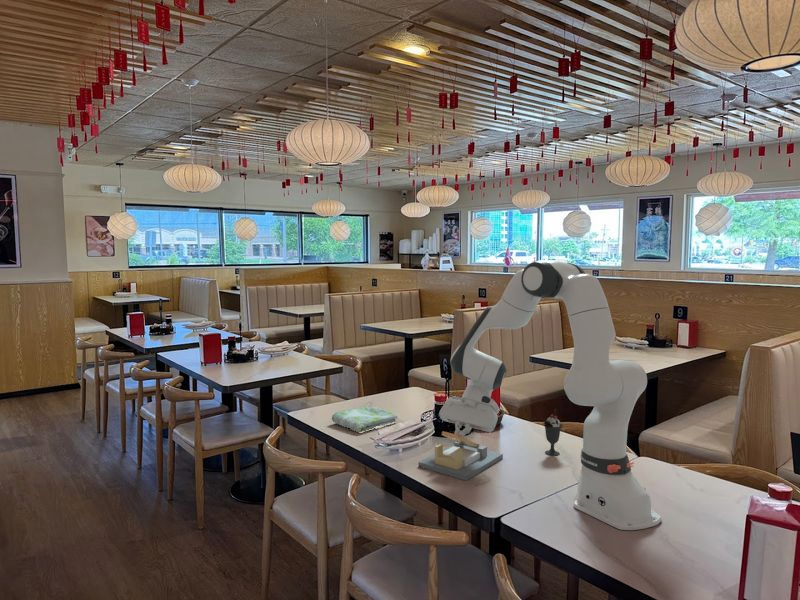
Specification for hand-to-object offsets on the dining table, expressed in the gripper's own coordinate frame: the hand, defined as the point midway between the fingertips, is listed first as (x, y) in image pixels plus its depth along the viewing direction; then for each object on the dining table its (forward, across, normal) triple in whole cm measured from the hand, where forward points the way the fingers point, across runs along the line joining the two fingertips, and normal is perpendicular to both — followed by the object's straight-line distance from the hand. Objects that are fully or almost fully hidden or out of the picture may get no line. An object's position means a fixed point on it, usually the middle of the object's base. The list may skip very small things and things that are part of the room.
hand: (458, 436), depth 177 cm
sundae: (-13, +20, +26) cm, 35 cm away
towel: (-1, -53, +16) cm, 55 cm away
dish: (-23, -16, +37) cm, 46 cm away
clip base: (+6, +1, +7) cm, 9 cm away
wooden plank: (-1, 0, +8) cm, 8 cm away
